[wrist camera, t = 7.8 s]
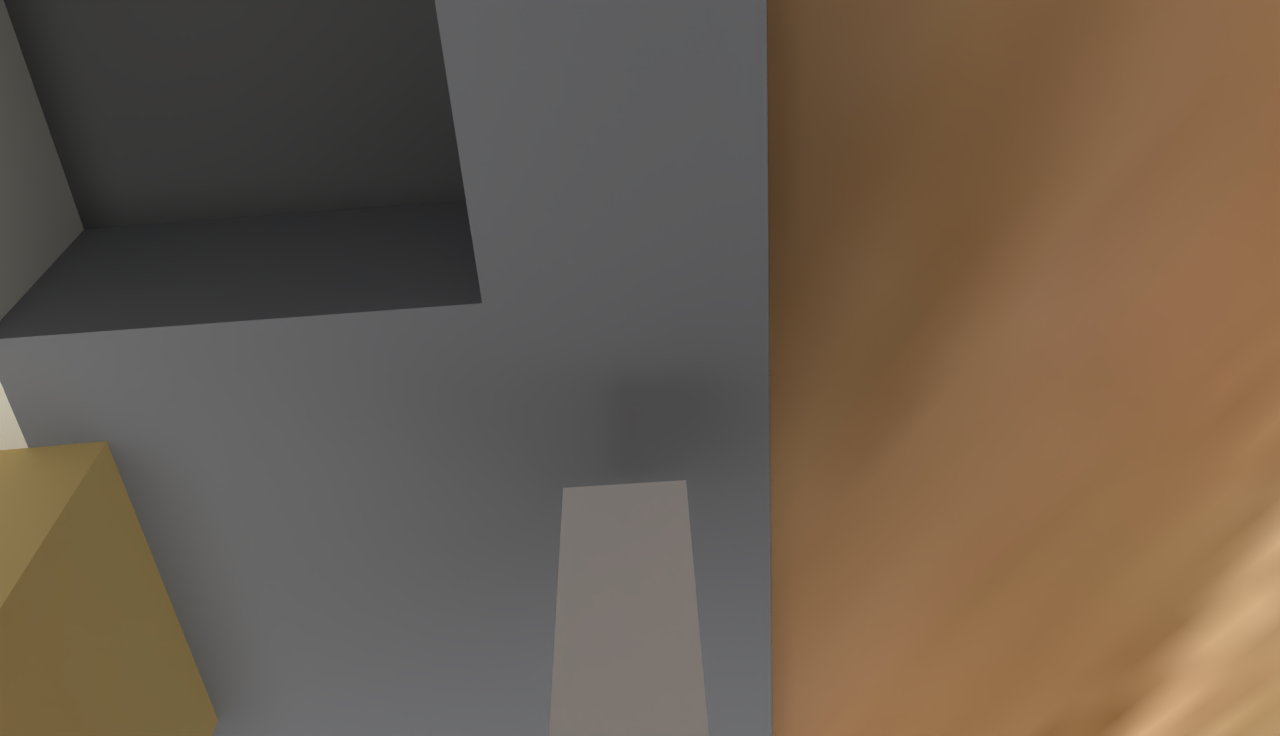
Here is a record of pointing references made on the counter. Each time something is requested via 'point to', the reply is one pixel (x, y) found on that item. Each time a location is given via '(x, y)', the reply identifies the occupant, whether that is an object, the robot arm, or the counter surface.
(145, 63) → the tray
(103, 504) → the ochre cube
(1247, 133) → the counter surface
